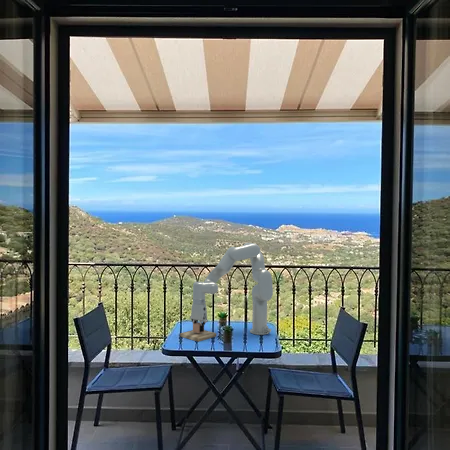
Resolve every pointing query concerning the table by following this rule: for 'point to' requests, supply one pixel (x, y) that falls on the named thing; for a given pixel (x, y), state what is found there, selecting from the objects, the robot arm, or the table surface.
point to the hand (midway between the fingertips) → (198, 330)
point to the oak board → (198, 335)
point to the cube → (196, 327)
